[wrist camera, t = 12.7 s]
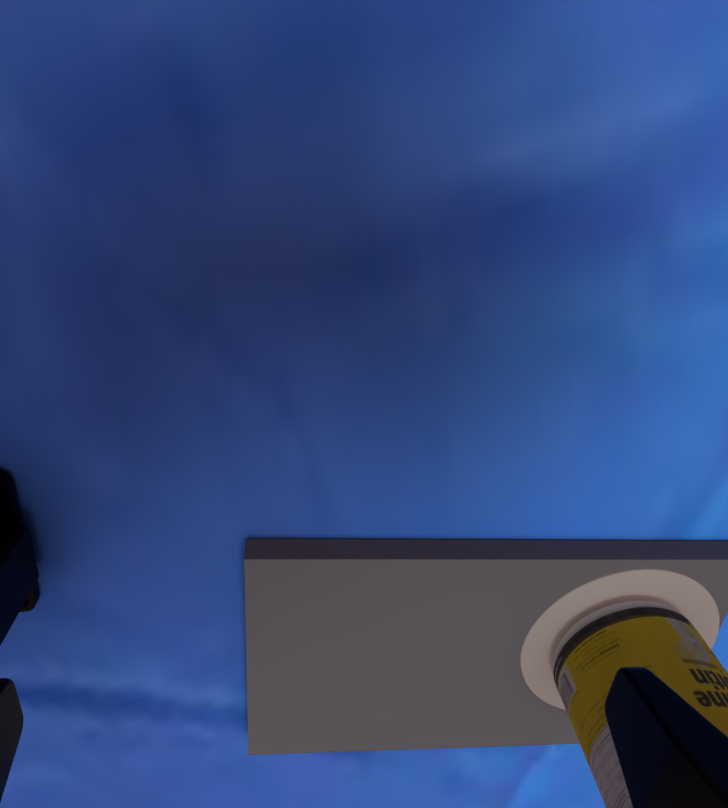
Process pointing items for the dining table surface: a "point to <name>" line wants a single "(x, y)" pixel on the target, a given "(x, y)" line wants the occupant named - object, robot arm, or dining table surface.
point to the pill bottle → (632, 647)
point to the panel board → (441, 634)
